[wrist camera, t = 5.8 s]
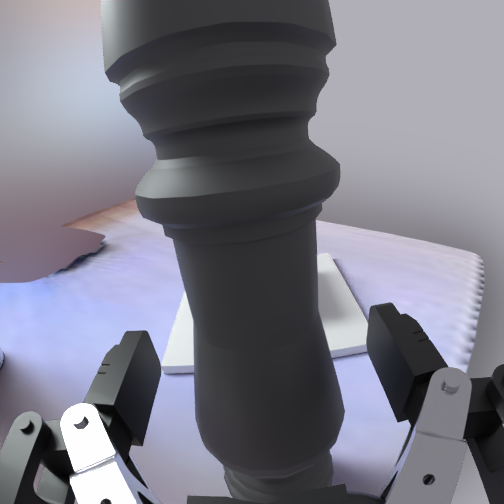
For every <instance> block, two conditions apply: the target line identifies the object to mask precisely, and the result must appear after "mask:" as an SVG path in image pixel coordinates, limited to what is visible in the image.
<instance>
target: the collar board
mask: <svg viewBox="0 0 504 504" xmlns="http://www.w3.org/2000/svg"><path fill="white" fill-rule="evenodd" d="M317 267H318V310H319V313H320V317H321V320H322V324H323V327H324V331H325V335H326V338H327V342H328V346H329V349H330V353H331V357H332V358H336V357H342V356H347V355H353V354H358V353H363V352H368V351H367V346H366V337H367V329H368V322H367V320H366V318H365V316H364V315H363V313H362V311H361V309H360V307H359V305H358V304H357V302H356V300H355V298H354V296H353V295H352V293H351V291H350V289H349V287H348V286H347V284H346V282H345V280H344V279H343V277H342V275H341V273H340V272H339V270H338V268H337V266H336V265H335V263H334V261H333V260H332V258H331V256H330V254H329V253H324V254H317ZM161 368H162V370H163V372H164V374H171V373H194V345H193V318H192V314H191V311H190V307H189V303H188V299H187V296H186V292H185V291H184V294H183V297H182V300H181V303H180V306H179V309H178V312H177V316H176V319H175V322H174V325H173V328H172V331H171V335H170V338H169V341H168V344H167V348H166V351H165V354H164V358H163V361H162V364H161Z"/></svg>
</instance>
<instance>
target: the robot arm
mask: <svg viewBox="0 0 504 504" xmlns="http://www.w3.org/2000/svg"><path fill="white" fill-rule="evenodd" d="M366 346H367V351H368V355H369V357H370V359H371V361H372V364H373V366H374V368H375V370H376V373H377V375H378V377H379V379H380V382H381V384H382V386H383V389H384V391H385V393H386V396H387V398H388V400H389V403H390V405H391V408H392V410H393V412H394V415H395V417H396V420H397V422H401V421H405V420H409V422H410V425H411V426H410V429H409V431H408V434H407V436H406V439H405V441H404V444H403V446H402V449H401V451H400V453H399V456H398V458H397V460H396V463H395V465H394V467H393V469H392V472H391V474H390V476H389V478H388V479H387V481H386V483H385V485H384V487H383V489H382V490H381V492H380V494H379V496H378V497H377V496H374V495H371V494H366V493H361V492H347V491H346V486H345V484H341V485H336V486H331V487H326V488H320V489H314V490H307V491H304V492H301V493H298V494H296V495H293V496H290V497H287V498H284V499H280V500H277V501H274V502H271V503H257V502H251V501H245V500H239V499H234V498H229V497H210V496H188V498H187V504H450V503H451V500H452V497H453V494H454V491H455V488H456V485H457V482H458V478H459V475H460V472H461V468H462V464H463V460H464V456H465V452H466V447H467V444H468V446H469V448H470V451H471V453H472V456H473V458H474V461H475V463H476V466H477V468H478V471H479V474H480V477H481V479H482V482H483V485H484V488H485V491H486V494H487V497H488V500H489V503H490V504H504V427H503V425H502V424H504V364H503V365H500V366H498V367H497V368H496V369H495V370H494V372H493V374H492V376H491V377H487V378H474V379H473V378H469V377H468V375H467V374H466V373H464V372H463V371H461V370H459V369H457V368H452V367H448V365H447V364H446V362H445V361H444V359H443V358H442V356H441V355H440V353H439V352H438V350H437V349H436V348H435V346H434V345H433V343H432V342H431V340H429V337H428V336H427V335H426V333H425V332H423V329H422V327H421V326H420V325H419V323H418V322H417V321H416V320H415V319H413V318H412V317H410V316H409V315H407V314H401V315H400V313H399V312H398V310H397V309H396V308H395V306H394V305H393V304H392V303H385V304H380V305H374V306H371V308H370V312H369V321H368V329H367V337H366ZM3 359H4V354H3V352H2V350H1V348H0V368H1V365H2V363H3ZM160 377H161V365H160V361H159V358H158V356H157V353H156V351H155V348H154V346H153V343H152V341H151V338H150V336H149V334H148V332H147V331H145V330H144V331H127V332H125V334H124V336H123V338H122V340H121V342H120V344H119V345H115V346H114V347H113V348H112V349H111V350H110V351H109V352H108V353H107V354H106V355H105V357H104V360H103V362H102V366H100V368H99V370H98V374H96V376H95V378H94V380H93V382H92V385H91V387H90V389H89V391H88V393H87V396H86V398H85V400H84V402H83V404H78V405H75V406H73V407H71V408H70V409H68V410H67V411H66V412H65V413H64V415H63V417H62V419H56V420H49V421H44V420H43V419H42V418H41V416H40V415H39V414H38V413H37V412H34V411H27V412H24V413H22V414H20V415H19V416H18V417H17V418H16V419H15V421H14V422H13V424H12V426H11V429H10V431H9V433H8V435H7V437H6V440H5V442H4V444H3V447H2V449H1V451H0V504H74V501H75V496H76V498H77V501H78V503H79V504H162V502H161V501H160V500H159V499H158V498H157V497H156V495H155V494H154V493H153V491H152V490H151V488H150V486H149V485H148V483H147V481H146V480H145V478H144V476H143V475H142V473H141V471H140V470H139V468H138V466H137V464H136V463H135V461H134V459H133V457H132V456H131V454H130V453H129V451H130V447H131V445H135V446H143V442H144V438H145V434H146V430H147V426H148V422H149V418H150V414H151V410H152V407H153V403H154V399H155V395H156V392H157V388H158V384H159V381H160ZM463 439H466V441H467V443H466V441H463ZM40 463H41V464H42V465H43V466H44V470H43V473H42V476H41V479H40V483H39V486H38V489H37V493H35V491H34V488H33V483H34V479H35V476H36V473H37V470H38V467H39V464H40Z"/></svg>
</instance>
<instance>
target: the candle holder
mask: <svg viewBox="0 0 504 504" xmlns="http://www.w3.org/2000/svg"><path fill="white" fill-rule="evenodd" d="M101 21H102V42H103V56H104V67H105V73H106V75H107V77H108V79H109V81H110V82H113V83H116V84H118V85H119V86H120V101H121V103H122V105H123V107H124V108H125V109H126V111H127V112H128V113H129V114H130V115H131V116H133V117H134V118H135V119H136V120H137V122H138V123H139V124H140V126H141V129H142V132H143V136H144V137H145V138H146V139H148V140H150V141H151V142H152V143H153V144H154V146H155V149H156V155H157V160H156V162H155V163H154V165H153V167H152V168H151V169H150V170H149V171H148V172H147V173H146V174H145V175H144V177H143V178H142V180H141V181H140V183H139V185H138V186H137V188H136V192H135V198H136V202H137V206H138V209H139V211H140V213H141V215H142V216H143V218H146V219H148V220H150V221H153V222H156V223H159V224H162V225H163V229H164V233H165V236H167V237H170V238H172V239H173V243H174V247H175V251H176V255H177V260H178V264H179V268H180V272H181V276H182V280H183V284H184V288H185V292H186V296H187V299H188V303H189V307H190V311H191V314H192V318H193V345H194V385H195V416H196V422H197V425H198V429H199V432H200V435H201V438H202V441H203V443H204V445H205V447H206V449H207V450H208V451H209V452H210V453H211V454H212V455H213V456H214V457H215V458H217V459H218V460H219V461H220V462H221V463H222V464H223V465H224V466H223V467H224V470H225V476H224V478H225V481H226V484H227V486H228V489H229V491H230V494H231V496H232V497H233V498H234V499H239V500H245V501H251V502H257V503H271V502H274V501H277V500H280V499H284V498H287V497H290V496H293V495H296V494H298V493H301V492H304V491H307V490H314V489H320V488H326V487H330V485H331V481H332V476H333V465H332V457H331V454H330V449H331V448H332V446H333V445H334V444H335V443H336V440H337V437H338V434H339V432H340V428H341V425H342V422H343V419H344V413H345V410H344V405H343V400H342V395H341V391H340V387H339V383H338V379H337V375H336V372H335V368H334V364H333V361H332V357H331V353H330V349H329V346H328V342H327V338H326V335H325V331H324V327H323V324H322V320H321V317H320V313H319V310H318V267H317V240H316V220H315V219H316V217H317V216H318V215H319V213H320V212H321V211H322V202H324V201H325V200H326V199H328V198H329V197H330V196H331V195H332V194H333V192H334V191H335V190H336V188H337V187H338V185H339V181H340V164H339V163H338V162H337V161H336V160H335V159H334V158H333V157H332V156H331V155H329V154H328V153H327V152H325V151H324V150H322V149H321V148H319V147H318V146H316V145H315V144H314V143H313V142H312V141H311V140H310V139H309V137H308V121H309V120H310V119H311V118H312V117H313V116H314V115H315V113H316V103H317V98H318V95H319V93H320V91H321V90H322V88H323V87H324V85H325V83H326V82H327V79H328V77H329V69H328V67H327V64H326V58H325V57H326V55H327V54H328V53H329V52H330V51H331V50H332V49H333V48H334V47H335V46H336V39H335V34H334V27H333V22H332V17H331V12H330V7H329V2H328V0H101Z"/></svg>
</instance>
